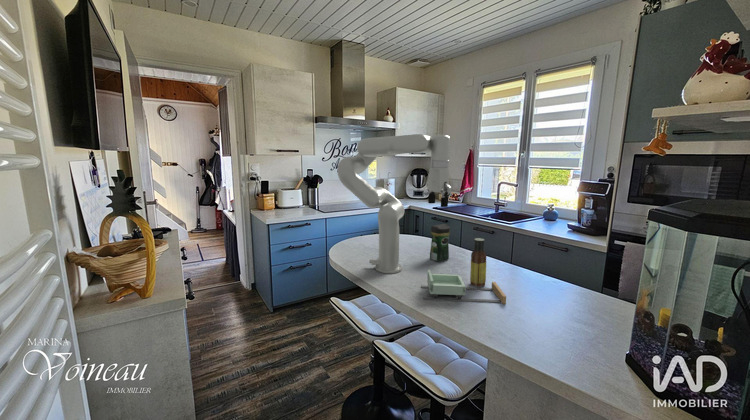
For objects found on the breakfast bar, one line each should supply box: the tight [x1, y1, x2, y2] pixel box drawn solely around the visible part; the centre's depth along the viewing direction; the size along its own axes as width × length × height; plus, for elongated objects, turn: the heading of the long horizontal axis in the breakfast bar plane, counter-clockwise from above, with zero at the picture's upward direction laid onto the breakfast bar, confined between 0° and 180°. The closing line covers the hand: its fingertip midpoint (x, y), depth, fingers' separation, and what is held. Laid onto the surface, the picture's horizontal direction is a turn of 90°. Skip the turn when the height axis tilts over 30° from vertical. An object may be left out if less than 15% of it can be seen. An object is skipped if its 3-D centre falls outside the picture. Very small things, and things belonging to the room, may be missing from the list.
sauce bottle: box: [469, 237, 487, 288], centre depth 126 cm, size 7×6×20 cm
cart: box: [426, 269, 467, 299], centre depth 118 cm, size 13×11×7 cm
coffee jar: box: [429, 223, 451, 263], centre depth 156 cm, size 10×8×19 cm
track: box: [420, 281, 507, 305], centre depth 118 cm, size 30×13×3 cm, turn 86°
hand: (437, 204), depth 131 cm, fingers open, 9 cm apart
